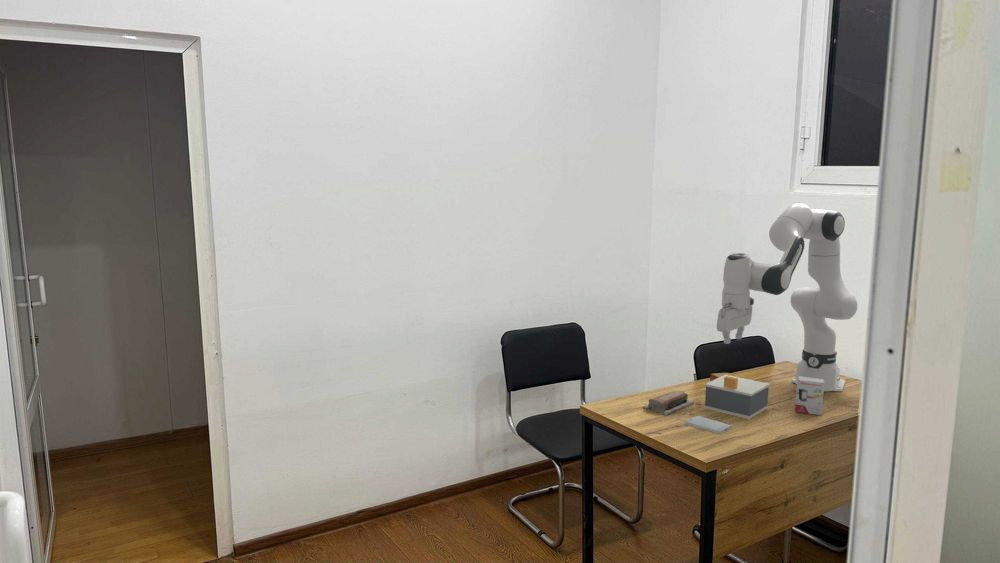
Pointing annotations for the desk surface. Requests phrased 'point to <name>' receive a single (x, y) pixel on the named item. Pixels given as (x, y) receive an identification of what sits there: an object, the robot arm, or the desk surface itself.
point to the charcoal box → (736, 402)
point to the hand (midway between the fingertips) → (732, 341)
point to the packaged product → (669, 403)
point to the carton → (718, 375)
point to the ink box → (809, 395)
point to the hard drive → (708, 424)
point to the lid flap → (737, 385)
